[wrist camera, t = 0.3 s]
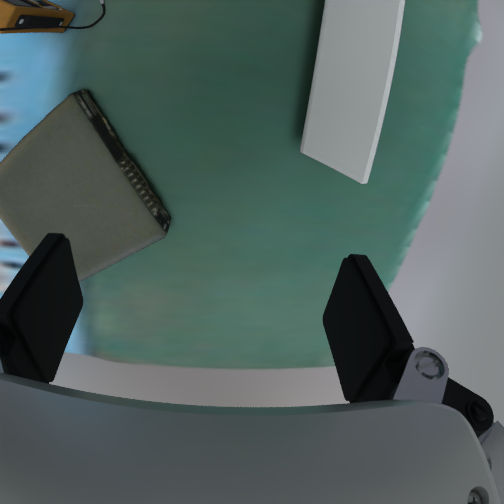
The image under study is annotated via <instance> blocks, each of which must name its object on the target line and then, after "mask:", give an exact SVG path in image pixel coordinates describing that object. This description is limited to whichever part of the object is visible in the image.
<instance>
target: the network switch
mask: <svg viewBox="0 0 504 504" xmlns="http://www.w3.org/2000/svg"><path fill="white" fill-rule="evenodd" d="M88 92H89V91H88V90H85V89H84V90H79V91H77V92H74V93H71V94H70V95H69V96H68V97H67V98H66V99H65V100H64V101H63V102H62V103H60V104H59V105H58V106H56V107H55V108H54V109H53V110H52V111H51V112H49V113H48V114H47V116H46V117H45V118H44V119H43V120H42V121H41V122H40V123H39V124H38V125H36V126H35V127H34V128H33V129H32V130H31V131H30V132H29V133H28V134H27V135H25V136H24V137H23V138H22V140H21V141H20V142H19V143H18V144H17V145H16V146H15V147H14V148H13V149H12V150H11V151H10V152H9V154H8V155H7V156H6V157H5V158H4V159H3V160H2V161H1V162H0V218H1V220H2V221H3V223H4V224H5V225H6V227H7V228H8V229H9V231H10V232H11V234H12V235H13V236H14V237H15V239H16V240H17V241H18V243H19V244H20V245H21V247H22V248H23V249H24V250H25V252H26V253H27V254H28V255H29V257H30V255H31V254H32V253H33V251H34V250H35V249H36V247H37V246H38V245H39V244H40V242H41V241H42V240H43V238H44V237H45V236H46V235H47V234H48V233H63V234H64V235H65V237H66V238H68V239H69V240H70V244H71V249H72V254H73V259H74V263H75V268H76V272H77V276H78V280H79V282H80V281H82V280H84V279H86V278H88V277H90V276H92V275H94V274H95V273H98V272H100V271H102V270H103V269H105V268H107V267H109V266H111V265H113V264H115V263H117V262H119V261H121V260H123V259H125V258H126V257H128V256H130V255H132V254H133V253H135V252H138V251H140V250H142V249H144V248H145V247H147V246H149V245H151V244H153V243H155V242H157V241H159V240H161V239H163V238H164V237H165V236H166V235H167V232H168V229H169V225H170V221H171V218H170V216H169V215H168V213H167V212H166V211H165V209H164V208H163V206H162V204H161V202H160V200H159V199H158V197H157V196H156V195H155V194H154V193H153V192H152V191H151V189H150V187H149V185H148V183H147V182H146V180H145V178H144V177H143V176H142V174H141V173H140V171H139V169H138V168H137V166H136V165H135V164H134V163H133V162H132V161H131V160H130V158H129V157H128V155H127V154H126V152H125V151H124V148H123V147H122V145H121V144H120V142H119V141H118V139H117V136H116V135H115V133H114V131H113V130H112V129H111V127H110V126H109V125H108V123H107V121H106V119H105V118H104V116H103V115H102V114H101V113H100V111H99V110H98V109H97V107H96V105H95V104H94V102H93V101H92V99H91V97H90V96H89V95H88ZM161 215H162V216H161Z"/></svg>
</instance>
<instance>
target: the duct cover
mask: <svg viewBox="0 0 504 504" xmlns="http://www.w3.org/2000/svg"><path fill="white" fill-rule="evenodd" d="M404 4H405V0H325V4H324V11H323V17H322V24H321V30H320V36H319V43H318V49H317V55H316V61H315V67H314V73H313V79H312V85H311V91H310V97H309V102H308V108H307V114H306V119H305V125H304V130H303V136H302V141H301V147H300V152H301V153H303V154H305V155H307V156H309V157H311V158H313V159H315V160H317V161H319V162H321V163H323V164H325V165H327V166H329V167H331V168H333V169H335V170H337V171H339V172H341V173H343V174H345V175H346V176H348V177H350V178H352V179H354V180H356V181H358V182H359V183H361V184H365V183H367V182H368V178H369V174H370V171H371V167H372V163H373V160H374V156H375V152H376V148H377V144H378V140H379V136H380V132H381V128H382V124H383V119H384V115H385V110H386V106H387V101H388V97H389V92H390V87H391V82H392V77H393V72H394V67H395V62H396V56H397V50H398V44H399V38H400V32H401V26H402V19H403V11H404Z"/></svg>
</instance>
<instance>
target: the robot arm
mask: <svg viewBox="0 0 504 504" xmlns="http://www.w3.org/2000/svg"><path fill="white" fill-rule="evenodd" d="M82 306H83V296H82V292H81V288H80V285H79V280H78V276H77V272H76V268H75V263H74V259H73V254H72V249H71V244H70V240H69V239H68V238H66V237H65V235H64V234H63V233H48V234H47V235H46V236H45V237H44V238H43V240H42V241H41V242H40V244H39V245H38V246H37V247H36V249H35V250H34V251H33V253H32V254H31V255H30V257H29V258H28V259H27V261H26V262H25V264H24V265H23V266H22V268H21V269H20V271H19V272H18V273H17V275H16V276H15V278H14V279H13V281H12V282H11V284H10V285H9V287H8V288H7V290H6V291H5V293H4V294H3V296H2V297H1V299H0V504H504V427H503V426H502V425H501V424H500V423H499V422H498V421H496V422H495V423H494V422H493V419H494V415H493V411H492V409H491V406H490V405H489V403H487V401H486V400H485V399H483V398H482V397H480V396H479V395H477V394H475V393H474V392H472V391H470V390H469V389H467V388H465V387H463V386H462V385H460V384H458V383H457V382H455V381H454V380H452V379H450V378H448V375H449V368H448V365H447V363H446V361H445V359H444V358H443V357H442V356H441V355H440V354H439V353H438V352H436V351H435V350H432V349H430V348H426V347H420V348H417V349H415V348H414V346H413V344H412V343H413V340H412V338H411V336H410V334H409V332H408V330H407V328H406V326H405V324H404V322H403V320H402V318H401V316H400V314H399V313H398V310H397V309H396V307H395V305H394V303H393V301H392V299H391V297H390V296H389V294H388V292H387V290H386V288H385V287H384V285H383V283H382V281H381V279H380V278H379V276H378V274H377V272H376V271H375V269H374V267H373V265H372V264H371V262H370V260H369V259H368V257H367V256H366V255H358V254H350V255H349V256H348V258H344V259H343V261H342V264H341V267H340V270H339V273H338V275H337V278H336V281H335V284H334V287H333V289H332V292H331V295H330V298H329V300H328V303H327V306H326V308H325V311H324V314H323V325H324V328H325V332H326V335H327V338H328V342H329V345H330V349H331V352H332V355H333V359H334V362H335V366H336V369H337V373H338V376H339V380H340V384H341V387H342V391H343V394H344V397H345V400H346V401H349V402H350V403H348V404H334V405H319V406H301V407H260V408H259V407H255V408H254V407H216V406H197V405H183V404H171V403H161V402H152V401H142V400H135V399H128V398H121V397H114V396H108V395H101V394H96V393H90V392H85V391H80V390H74V389H70V388H65V387H60V386H56V385H51V384H49V382H52V381H53V380H54V378H55V375H56V372H57V370H58V367H59V364H60V361H61V359H62V356H63V353H64V351H65V348H66V345H67V343H68V340H69V338H70V335H71V333H72V330H73V328H74V326H75V323H76V321H77V318H78V316H79V314H80V311H81V309H82Z"/></svg>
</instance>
